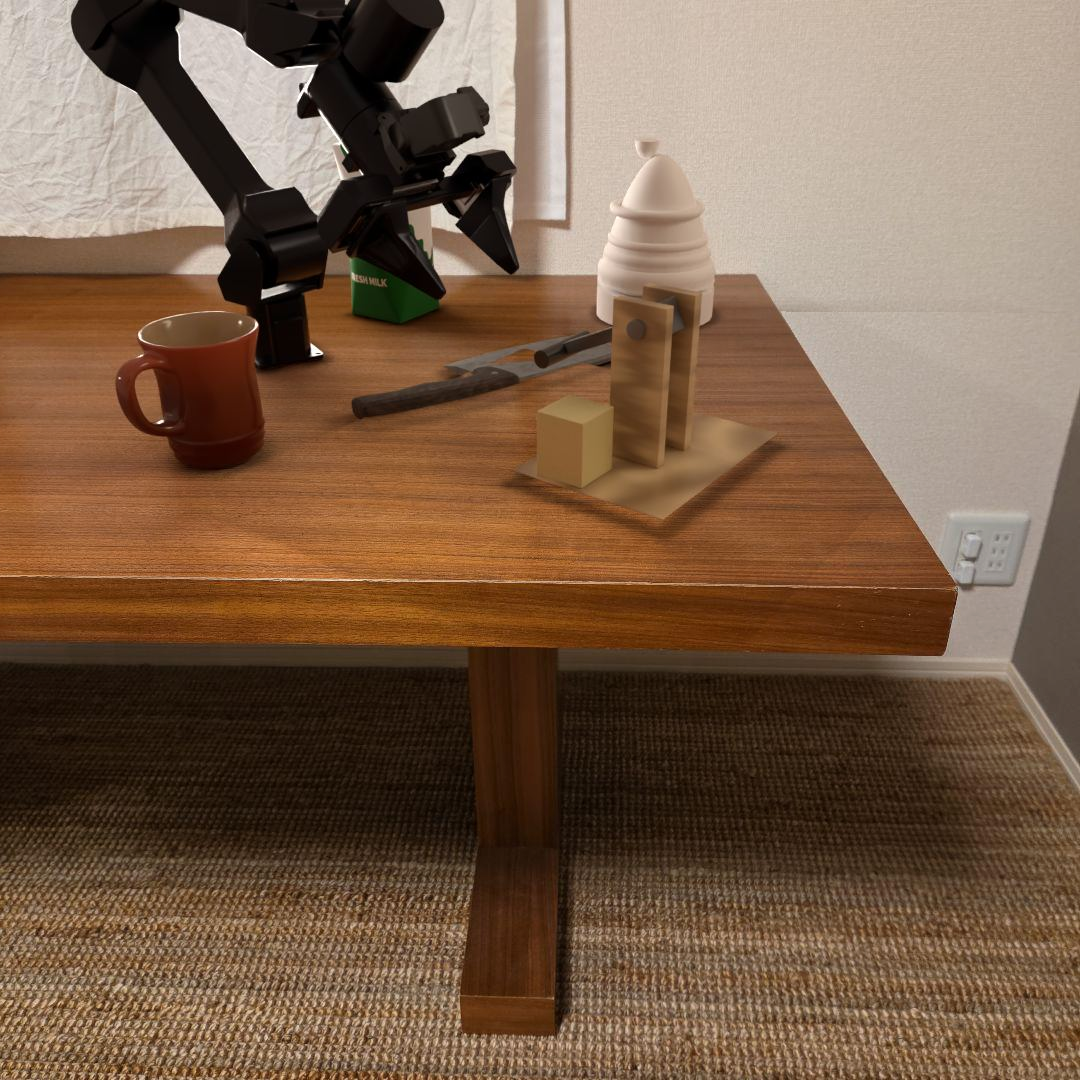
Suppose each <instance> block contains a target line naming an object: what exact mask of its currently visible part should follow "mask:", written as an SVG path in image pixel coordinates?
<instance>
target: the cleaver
mask: <svg viewBox="0 0 1080 1080" xmlns="http://www.w3.org/2000/svg"><path fill="white" fill-rule="evenodd" d="M572 335H573V334H572ZM572 335H564V336H560V337H555V338H549V339H545V340H544V339H543V340H540V341H534V342H529V343H524V344H520V345H515V346H511V347H506V348H503V349H502V348H501V349H498V350H494V351H490V352H486V353H483V354H479V355H476V356H472V357H468V358H465V359H461V360H457V361H455V362H452V363H451V362H450V363H447V364H444V365H443V367H444V368H446V369H448V370H449V371H451V372H452V373H454V374H455V375H457V376H464V375H466V374H469V373H470V374H471V375H468V376H465V377H459V378H455V379H446V380H438V381H431V382H430V381H429V382H425V383H424V382H423V383H419V384H415V385H412V386H408V387H404V388H401V389H396V390H392V391H391V390H390V391H387V392H386V391H385V392H380V393H373V394H367V395H366V394H365V395H360V396H356V397H353V398H352V399H351V404H350V405H351V411H352V414H353V416H355V418H357V419H358V420H363V419H366V418H375V417H376V418H377V417H383V416H388V415H394V414H399V413H403V412H404V413H405V412H410V411H413V410H419V409H424V408H428V407H432V406H433V407H434V406H436V405H437V406H438V405H441V404H446V403H450V402H455V401H459V400H463V399H467V398H471V397H476V396H480V395H484V394H488V393H492V392H495V391H498V390H502V389H505V388H509V387H512V386H515V385H519V384H520V382H522V381H523V382H524V381H526V380H529V379H533V378H536V377H540V376H543V375H546V374H547V375H548V374H549V373H554V372H557V371H560V370H564V369H566V368H571V367H574V366H577V365H580V364H586V365H590V366H595V367H596V366H599V365H600V366H601V365H603V364H606V363H608V362H611V354H612V345H610V344H609V343H606V344H603V345H600V346H597V347H593V348H590V349H587V350H584V351H581V352H579V353H577V354H575V355H573V356H570V357H568V358H566V359H564V360H562V361H560V362H558V363H556V364H553V365H551V366H549V367H547V368H545V369H542V368H539V367H538V366H537V365H536V364H535V361H534V360H525V361H524V360H523V361H511V362H499V363H494V362H496V361H498V360H501V359H503V358H505V357H507V356H510V355H512V354H514V353H517V352H519V351H521V350H525V349H526V350H530V351H533V352H536V351H538V350H540V349H543V348H545V347H547V346H549V345H552V344H554V343H556V342H558V341H561V340H563V339H565V338H567V337H570V336H572Z"/></svg>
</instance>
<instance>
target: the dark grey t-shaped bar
mask: <svg viewBox="0 0 1080 1080" xmlns="http://www.w3.org/2000/svg"><path fill="white" fill-rule="evenodd" d="M656 303H661V304H666V305H672V306H674V312H673V327H672V334H673V333H675V332H677V331H679V330H681V329H683V328H685V326H684V323H683V319H682V316H681V313H680V310H679V307H678V304H677V301H676V298H675V296H671V297H668V298H665V299H662V300H659V301H656ZM569 336H570V337H567V338H565V339H563V340H561V341H558V342H556V343H554V344H552V345H549V346H547V347H545V348H543V349H540V350H538V351H535V352H534V355H533V361H535V364H536V365H537V366H538V367H539V368H542V369H545V368H547V367H549V366H551V365H553V364H556V363H558V362H560V361H562V360H564V359H566V358H568V357H570V356H573V355H575V354H577V353H579V352H581V351H584V350H587V349H590V348H593V347H597V346H600V345H603V344H610V343H612V326H610V327H606V328H603V329H599V330H597V331H594V332H589V331H588V330H581V331H579V332H576V333H575V334H572V336H571V335H569Z"/></svg>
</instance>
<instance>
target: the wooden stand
mask: <svg viewBox="0 0 1080 1080" xmlns="http://www.w3.org/2000/svg"><path fill="white" fill-rule="evenodd" d="M671 296H675V298H676V301H677V304H678V307H679V310H680V313H681V316H682V319H683V323H684V326H685V328H683V329H681V330H679V331H677V332H675V333H673V334H672V327H673V312H674V306H672V305H666V304H661V303H656V301H659V300H662V299H665V298H668V297H671ZM701 301H702V293H701V292H696V291H690V290H685V289H680V288H674V287H669V286H663V285H658V284H653V283H649V284H646V285H644V286H643V297H642V300H641V299H636V298H631V297H626V296H618V297H616V298H614V299H613V324H612V325H611V327H612V342H611V346H612V354H611V361H610V385H609V387H610V388H609V406H613V407H614V416H613V445H612V469H611V470H610V471H608V472H606V473H605V474H603V475H602V476H600V477H599V478H597V479H595V480H594V481H592V482H591V483H589V484H588V485H586V486H584V487H583V488H578V487H575V486H572V485H569V484H566V483H563V482H559V481H556V480H553V479H550V478H547V477H544V476H541V475H538V474H537V455H535V456H534V457H532V458H530V459H528V460H526V461H525V462H523V463H521V464H519V465H517V466H515V467H514V468H512V469H511V471H512V472H515V473H518V474H521V475H524V476H527V477H529V478H533V479H536V480H539V481H542V482H546V483H549V484H552V485H555V486H557V487H561V488H564V489H566V490H569V491H573V492H576V493H578V494H582V495H584V496H588V497H592V498H594V499H597V500H601V501H603V502H606V503H610V504H613V505H616V506H619V507H622V508H625V509H628V510H631V511H634V512H637V513H641V514H643V515H646V516H649V517H652V518H656V519H657V520H658V519H659V520H661V521H662V520H664V519H666V518H667V517H669V516H670V515H671V514H672V513H675V512H676V511H677V510H678V509H680V507H682V506H683V505H685V504H686V503H687V502H689V501H690V500H691V499H692V498H694V497H696V496H697V495H698V494H699V493H700V492H702V491H704V489H706V488H707V487H709V486H710V485H711V484H712V483H714V482H715V481H717V480H718V479H720V478H721V477H722V476H723V475H725V474H726V473H727V472H729V471H730V470H732V469H733V468H734V467H735V466H737V465H738V464H739V463H741V462H742V461H743V460H745V459H746V458H748V456H750V455H751V454H753V453H754V452H756V450H758V449H759V448H761V447H762V446H763V445H764V444H766V443H767V442H769V441H770V440H771V439H773V438H774V437H776V436H777V435H778V432H775V431H771V430H767V429H763V428H759V427H756V426H751V425H748V424H744V423H740V422H736V421H732V420H728V419H725V418H720V417H717V416H713V415H708V414H705V413H700V412H697V411H694V405H695V404H694V403H695V391H696V378H697V365H698V352H699V339H700V326H701V325H700V314H701Z"/></svg>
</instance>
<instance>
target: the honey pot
mask: <svg viewBox="0 0 1080 1080" xmlns="http://www.w3.org/2000/svg"><path fill="white" fill-rule="evenodd" d="M660 141H661V140H660V139H659V138H652V137H640V138H635V139H634V148H635V151H636V153H637V155H638V156H639V157H640V158H641V159H643V160H648V161H647V162H645V163H644V165H642V166H641V168H640V170H639V171H638V172H637V173H636V175H635V177H634V178H633V180H632V181H631V183H630V185H629V187H628V189H627V191H626V193H625V195H624V196H622V197H618V198H615V199H614V200H613V201H611V202H610V204H609V211H610V213H611V214H613V215H614V216H616V217H615V220H614V222H613V225H612V228H611V230H610V231H609V232H608V234H607V243H606V244H605V246H604V247H603V256H602V257H601V258H600V260H599V261H598V265H597V279H596V280H597V282H596V317H598V319H599V320H601V321H603V322H604V323H606V324H608V325H611V326H612V324H613V299H614V298H616V297H618V296H626V297H631V298H636V299H641V300H642V297H643V286H644V285H646V284H649V283H653V284H658V285H663V286H669V287H674V288H680V289H685V290H690V291H696V292H701V293H702V301H701V314H700V326H704V325H705V324H706V323H709V322H710V321H711V319H712V318H713V310H714V309H713V308H714V298H715V297H714V296H715V286H714V284H715V281H716V280H715V276H716V267H715V264H714V262H713V260H712V258H711V257H712V256H711V255H712V252H711V249H710V246H709V245H708V243H709V236H708V233H707V232H706V231H705V227H704V224H703V219H702V216H701V215H703V213H704V212H705V205H704V203H703V202H702V201H699V200H698V199H696V197H695V194H694V192H693V190H692V186H691V184H690V182H689V180H688V178H687V176H686V174H685V172H684V171H683V169H682V167H681V166H680V165H679V163H678V162H677V161H676V160H674V158H673V157H671V156H670V155H668V154H663V153H657V152H658V150H659V146H660Z"/></svg>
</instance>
